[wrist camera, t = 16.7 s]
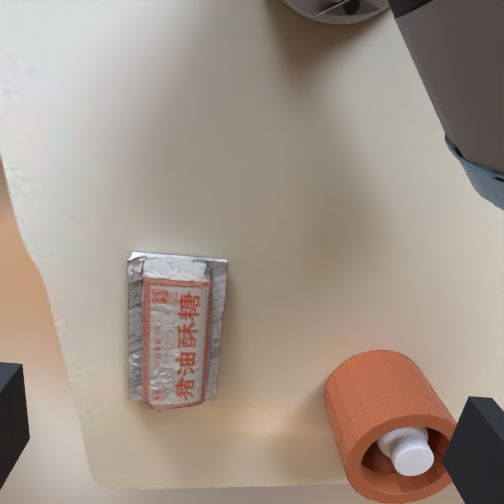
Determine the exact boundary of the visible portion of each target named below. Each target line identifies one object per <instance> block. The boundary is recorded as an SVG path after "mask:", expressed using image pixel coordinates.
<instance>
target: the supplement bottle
mask: <svg viewBox="0 0 504 504" xmlns="http://www.w3.org/2000/svg"><path fill="white" fill-rule="evenodd" d="M376 442H377V444H378V447H379V448H380V450H381V451H382V452H383V454H385V455H386V456H388V457H390V458H391V461H392V463H393V465H394V467H395V469H396V470H397V472H398V473H400V474H402V475H405V476H415V475H419V474H422V473H424V472H426V471H427V470H428V469H429V468H430V467H431V466H432V464H433V462H434V456H433V453H432V451H431V449H430V447H429V445H428V444H427V442H428V432H427V429H426V427H418V426H409V427H404V428H399V429H396V430H393V431H391V432H389V433H387V434H385V435H383V436H381V437H380V438H379V439H377V440H376Z"/></svg>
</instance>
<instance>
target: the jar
mask: <svg viewBox="0 0 504 504" xmlns="http://www.w3.org/2000/svg"><path fill="white" fill-rule="evenodd" d="M324 398H325V404H326V408H327V412H328V416H329V419H330V422H331V426H332V429H333V432H334V436H335V439H336V442H337V446H338V449H339V452H340V456H341V459H342V462H343V466H344V469H345V472H346V476H347V479H348V481H349V482H350V484H351V485H352V487H353V488H354V489H355V491H356V492H358V493H359V494H361V495H362V496H364V497H366V498H367V499H370V500H374V501H377V502H381V503H390V504H391V503H392V504H401V503H402V504H403V503H408V502H413V501H418V500H421V499H424V498H426V497H428V496H431V495H433V494H436V493H438V492H439V491H441V490H442V489H443V488H445V487H446V486H448V485H449V484H451V482H453V481H452V479H451V478H450V476H449V474H448V472H447V471H446V469H445V467H444V465H443V464H442V462H441V461H442V459H443V456H444V454H445V452H446V449H447V447H448V444H449V442H450V440H451V437H452V435H453V433H454V430H455V428H456V426H457V423H456V422H455V420H454V419H453V417H452V416H451V414H450V413H449V411H448V410H447V408H446V407H445V405H444V404H443V402H442V401H441V399H440V398H439V396H438V395H437V394H436V392H435V391H434V389H433V388H432V386H431V385H430V383H429V382H428V380H427V379H426V377H425V376H424V374H423V373H422V371H421V370H420V369H419V367H418V366H417V365H416V364H415V363H414V362H413V361H412V360H411V359H409V358H408V357H406V356H404V355H402V354H400V353H397V352H392V351H385V350H377V351H369V352H365V353H362V354H359V355H356V356H354V357H352V358H350V359H349V360H347V361H345V362H344V363H343V364H341V365H340V366H339V367H338V368H337V369H336V370H335V371H334V372H333V374H332V375H331V377H330V378H329V380H328V382H327V385H326V388H325V395H324ZM409 426H418V427H426V429H427V432H428V442H427V444H428V445H429V447H430V449H431V451H432V453H433V456H434V462H433V464H432V466H431V467H430V468H429V469H428V470H427V471H426V472H424V473H422V474H419V475H415V476H405V475H402V474H400V473H398V472H397V470H396V469H395V467H394V465H393V463H392V461H391V458H390V457H388V456H386V455H385V454H383V452H382V451H381V450H380V448H379V447H378V444H377V442H376V440H377V439H379V438H380V437H381V436H383V435H385V434H387V433H389V432H391V431H393V430H396V429H399V428H404V427H409Z"/></svg>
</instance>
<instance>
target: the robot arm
mask: <svg viewBox="0 0 504 504" xmlns="http://www.w3.org/2000/svg"><path fill="white" fill-rule="evenodd" d="M281 1H282V2H283V3H284V4H285V5H286V6H288V7H289V8H290V9H291V10H293V11H294V12H296V13H298V14H299V15H301V16H303V17H305V18H307V19H310V20H313V21H316V22H319V23H324V24H332V25H344V24H352V23H356V22H361V21H363V20H366V19H369V18H371V17H373V16H376V15H378V14H380V13H382V12H383V11H385V10H387V9H388V8H391V10H392V12H393V14H394V18H395V21H396V23H397V25H398V28H399V30H400V32H401V34H402V37H403V39H404V41H405V43H406V46H407V48H408V50H409V52H410V55H411V57H412V59H413V61H414V64H415V66H416V68H417V70H418V73H419V75H420V77H421V79H422V82H423V84H424V86H425V89H426V91H427V93H428V95H429V98H430V100H431V102H432V104H433V107H434V109H435V111H436V113H437V116H438V118H439V120H440V122H441V125H442V127H443V129H444V131H445V141H446V143H447V146H448V148H449V150H450V151H451V153H452V154H453V155H454V156H455V157H456V158H457V159H458V160H459V161H460V163H461V164H462V166H463V168H464V170H465V172H466V174H467V176H468V178H469V180H470V182H471V184H472V186H473V187H474V189H475V190H476V191H477V192H478V193H479V194H480V195H481V196H482V197H483V198H485V199H487V200H489V201H490V202H491V203H493V204H494V205H495V206H496V207H498V208H500V209H502V210H504V0H281ZM29 439H30V435H29V425H28V415H27V406H26V396H25V386H24V376H23V367H22V364H17V363H2V362H0V489H1V488H2V486H3V484H4V482H5V481H6V479H7V477H8V476H9V474H10V472H11V470H12V469H13V467H14V465H15V463H16V462H17V460H18V458H19V456H20V455H21V453H22V451H23V450H24V448H25V446H26V444H27V443H28V441H29ZM441 462H442V464H443V465H444V467H445V469H446V471H447V472H448V474H449V476H450V478H451V479H452V481H453V483H454V485H455V486H456V488H457V490H458V492H459V493H460V495H461V497H462V498H463V501H464V502H465V504H504V411H503V410H502V409H501V408H500V407H499V406H498V404H497V403H496V402H495V401H494V400H493V398H485V397H471V396H469V397H468V400H467V402H466V404H465V407H464V409H463V411H462V414H461V416H460V418H459V421H458V423H457V426H456V428H455V430H454V433H453V435H452V437H451V440H450V442H449V444H448V447H447V449H446V452H445V454H444V456H443V459H442V461H441Z"/></svg>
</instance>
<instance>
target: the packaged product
mask: <svg viewBox="0 0 504 504" xmlns="http://www.w3.org/2000/svg"><path fill="white" fill-rule="evenodd" d="M227 267H228V260H223V259H212V258H201V257H189V256H178V255H165V254H151V253H137V252H133V253H132V255H131V256H130V258H129V259H128V304H129V307H128V309H129V316H128V331H129V399H143V401H142V402H143V403H142V405H143V407H144V408H148V409H152V410H156V411H167V410H169V409H175V408H181V407H186V406H187V407H191V406H195V405H198V404H201V403H202V402H203V401H205V400H206V399H210V400H214V401H215V393H216V385H217V376H218V365H219V352H220V341H221V331H222V318H223V310H224V301H225V289H226V275H227Z"/></svg>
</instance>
